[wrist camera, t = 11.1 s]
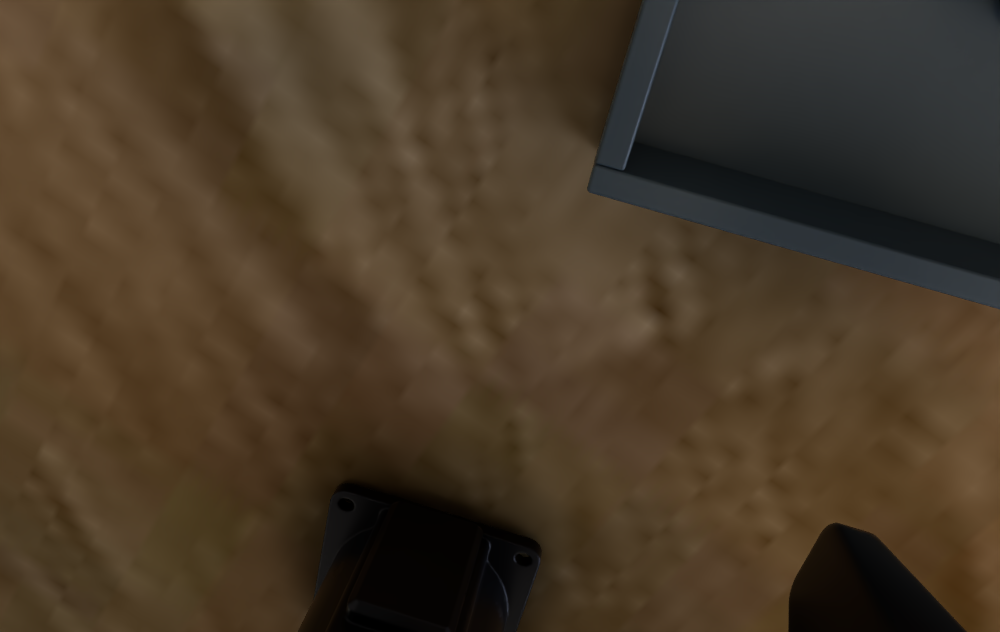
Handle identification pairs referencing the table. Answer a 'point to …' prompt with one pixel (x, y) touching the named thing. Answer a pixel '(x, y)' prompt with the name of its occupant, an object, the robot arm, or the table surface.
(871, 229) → the tray
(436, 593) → the robot arm
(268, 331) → the table surface
